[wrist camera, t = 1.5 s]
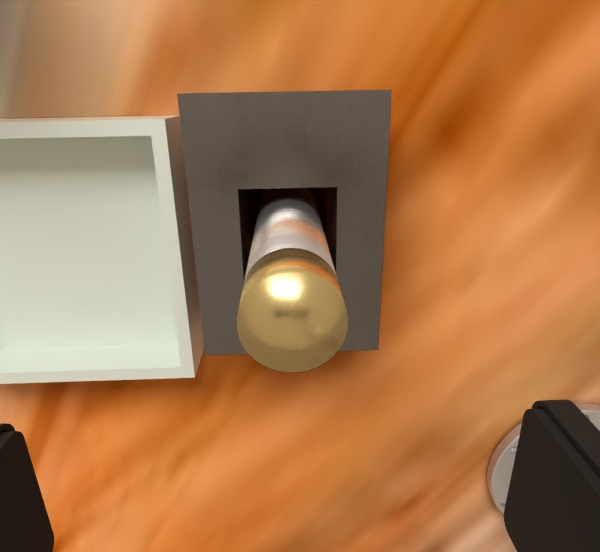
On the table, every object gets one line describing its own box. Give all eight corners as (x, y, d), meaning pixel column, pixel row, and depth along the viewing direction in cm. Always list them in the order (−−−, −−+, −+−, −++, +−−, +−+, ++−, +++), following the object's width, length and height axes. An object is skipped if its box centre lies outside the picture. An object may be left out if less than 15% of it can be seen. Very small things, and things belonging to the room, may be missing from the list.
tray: (204, 345, 33) (194, 377, 30) (-17, 352, 33) (-55, 385, 29) (180, 115, 28) (164, 119, 24) (-88, 120, 27) (-147, 125, 24)
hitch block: (362, 305, 33) (378, 349, 27) (218, 309, 32) (204, 355, 27) (369, 90, 28) (391, 90, 22) (199, 93, 27) (177, 93, 22)
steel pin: (315, 235, 31) (346, 370, 16) (261, 236, 31) (240, 373, 16) (315, 180, 29) (349, 271, 15) (258, 181, 29) (232, 274, 14)
